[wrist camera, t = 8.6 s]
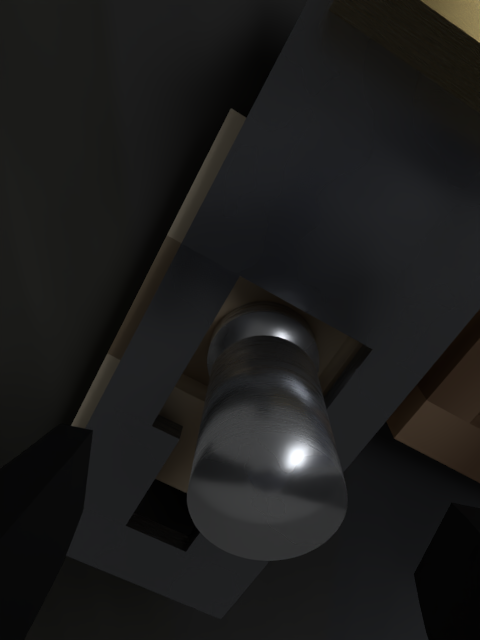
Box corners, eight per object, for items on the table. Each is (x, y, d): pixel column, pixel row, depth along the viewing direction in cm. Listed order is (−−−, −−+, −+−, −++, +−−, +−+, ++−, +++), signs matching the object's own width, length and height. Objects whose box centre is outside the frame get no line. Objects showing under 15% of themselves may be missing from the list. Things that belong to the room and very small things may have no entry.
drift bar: (335, -51, 10) (379, -153, 7) (600, 138, 11) (760, 140, 8) (36, 524, 17) (-24, 628, 13) (222, 602, 18) (213, 716, 15)
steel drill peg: (336, 333, 15) (395, 478, 9) (280, 412, 16) (295, 590, 10) (242, 281, 15) (231, 395, 8) (191, 367, 16) (147, 525, 9)
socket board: (476, 261, 15) (502, 275, 13) (282, 506, 19) (284, 537, 17) (233, 111, 13) (231, 108, 12) (81, 411, 17) (65, 437, 16)
